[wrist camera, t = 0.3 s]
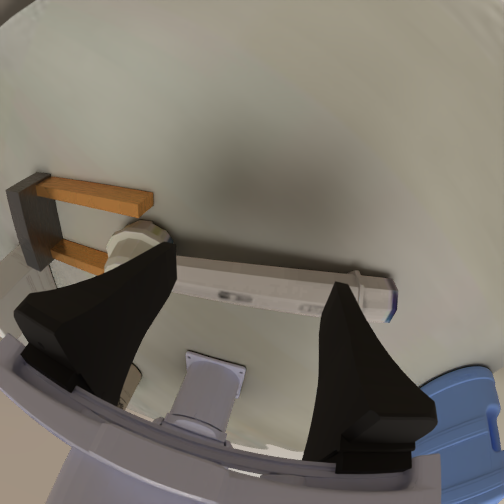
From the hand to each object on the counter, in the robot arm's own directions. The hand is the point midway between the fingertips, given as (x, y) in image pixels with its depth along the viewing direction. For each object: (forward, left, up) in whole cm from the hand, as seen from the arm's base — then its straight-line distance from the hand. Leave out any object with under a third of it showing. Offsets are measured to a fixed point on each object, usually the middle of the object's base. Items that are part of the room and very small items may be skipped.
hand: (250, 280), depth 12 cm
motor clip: (-6, +19, -10) cm, 22 cm away
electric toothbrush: (-7, +1, -10) cm, 12 cm away
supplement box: (-17, +33, -10) cm, 39 cm away
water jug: (-22, -33, -10) cm, 41 cm away
